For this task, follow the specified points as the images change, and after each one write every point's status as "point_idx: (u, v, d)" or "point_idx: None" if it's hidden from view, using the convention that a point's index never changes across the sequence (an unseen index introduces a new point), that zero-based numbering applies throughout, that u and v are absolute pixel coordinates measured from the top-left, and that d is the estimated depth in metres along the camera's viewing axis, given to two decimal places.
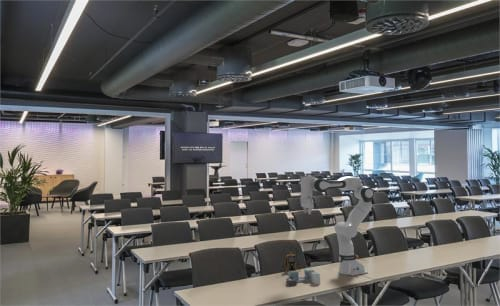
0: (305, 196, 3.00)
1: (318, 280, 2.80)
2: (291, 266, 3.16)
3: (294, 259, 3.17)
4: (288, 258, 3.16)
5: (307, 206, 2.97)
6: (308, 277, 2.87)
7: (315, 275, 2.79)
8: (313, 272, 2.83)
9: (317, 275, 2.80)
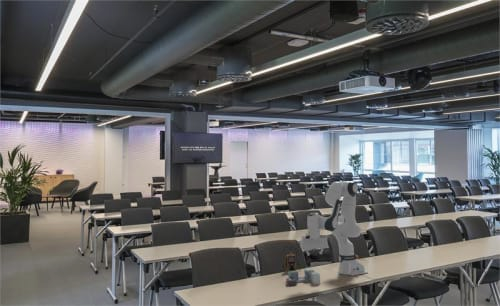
0: (319, 235, 2.82)
1: (318, 280, 2.80)
2: (291, 266, 3.16)
3: (294, 259, 3.17)
4: (288, 258, 3.16)
5: (322, 246, 2.82)
6: (308, 277, 2.87)
7: (315, 275, 2.79)
8: (313, 272, 2.83)
9: (317, 275, 2.80)
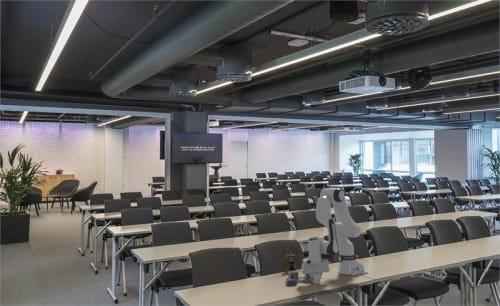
0: (321, 260, 2.81)
1: (318, 280, 2.80)
2: (291, 266, 3.16)
3: (294, 259, 3.17)
4: (288, 258, 3.16)
5: (324, 270, 2.81)
6: (308, 277, 2.87)
7: (315, 275, 2.79)
8: None
9: (317, 275, 2.80)
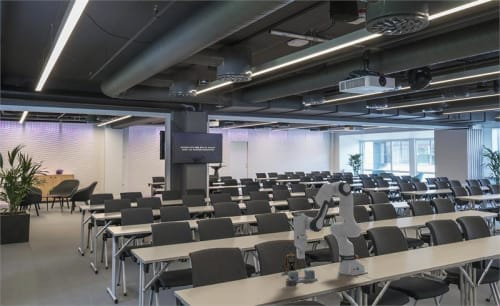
0: None
1: None
2: (291, 266, 3.16)
3: (294, 259, 3.17)
4: (288, 258, 3.16)
5: None
6: (308, 277, 2.87)
7: None
8: (298, 248, 2.88)
9: None
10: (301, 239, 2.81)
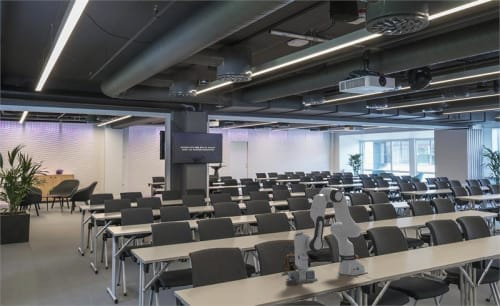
0: None
1: None
2: (291, 266, 3.16)
3: (294, 259, 3.17)
4: (288, 258, 3.16)
5: None
6: (308, 277, 2.87)
7: None
8: (299, 270, 2.88)
9: None
10: (302, 259, 2.81)
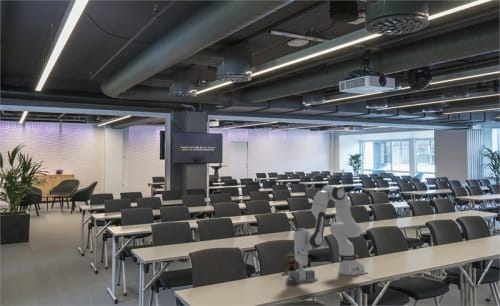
0: None
1: None
2: (291, 266, 3.16)
3: (294, 259, 3.17)
4: (288, 258, 3.16)
5: None
6: (308, 277, 2.87)
7: None
8: (299, 270, 2.88)
9: None
10: (302, 254, 2.81)
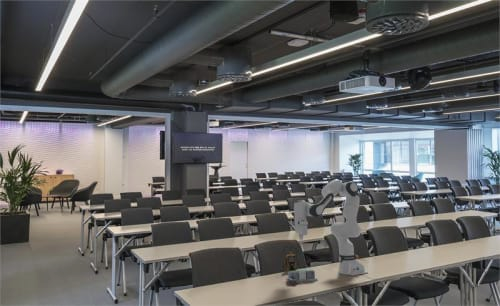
0: None
1: None
2: (291, 266, 3.16)
3: (294, 259, 3.17)
4: (288, 258, 3.16)
5: None
6: (308, 277, 2.87)
7: None
8: (299, 270, 2.88)
9: None
10: (302, 224, 2.89)
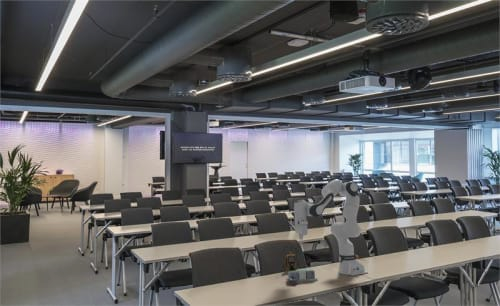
0: None
1: None
2: (291, 266, 3.16)
3: (294, 259, 3.17)
4: (288, 258, 3.16)
5: None
6: (308, 277, 2.87)
7: None
8: (299, 270, 2.88)
9: None
10: (302, 224, 2.89)
